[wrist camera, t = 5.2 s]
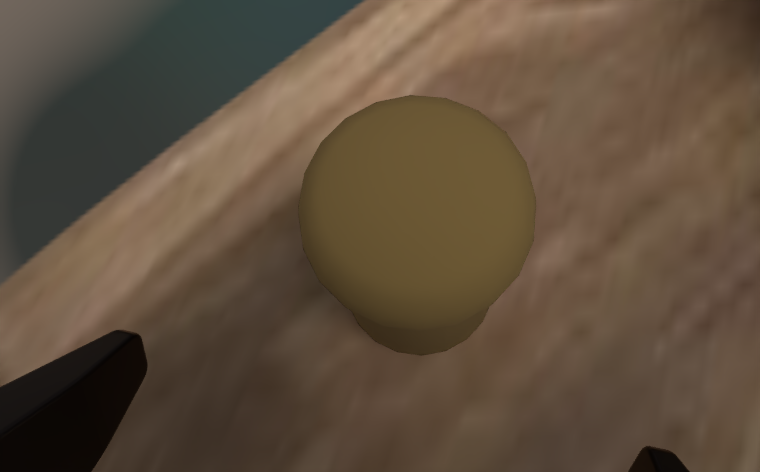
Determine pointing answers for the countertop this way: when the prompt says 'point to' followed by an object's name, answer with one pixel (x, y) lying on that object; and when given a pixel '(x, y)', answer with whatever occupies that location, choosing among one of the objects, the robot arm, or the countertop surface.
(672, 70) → the countertop surface
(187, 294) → the countertop surface
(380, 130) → the olive pepper mill
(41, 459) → the robot arm
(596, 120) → the countertop surface
